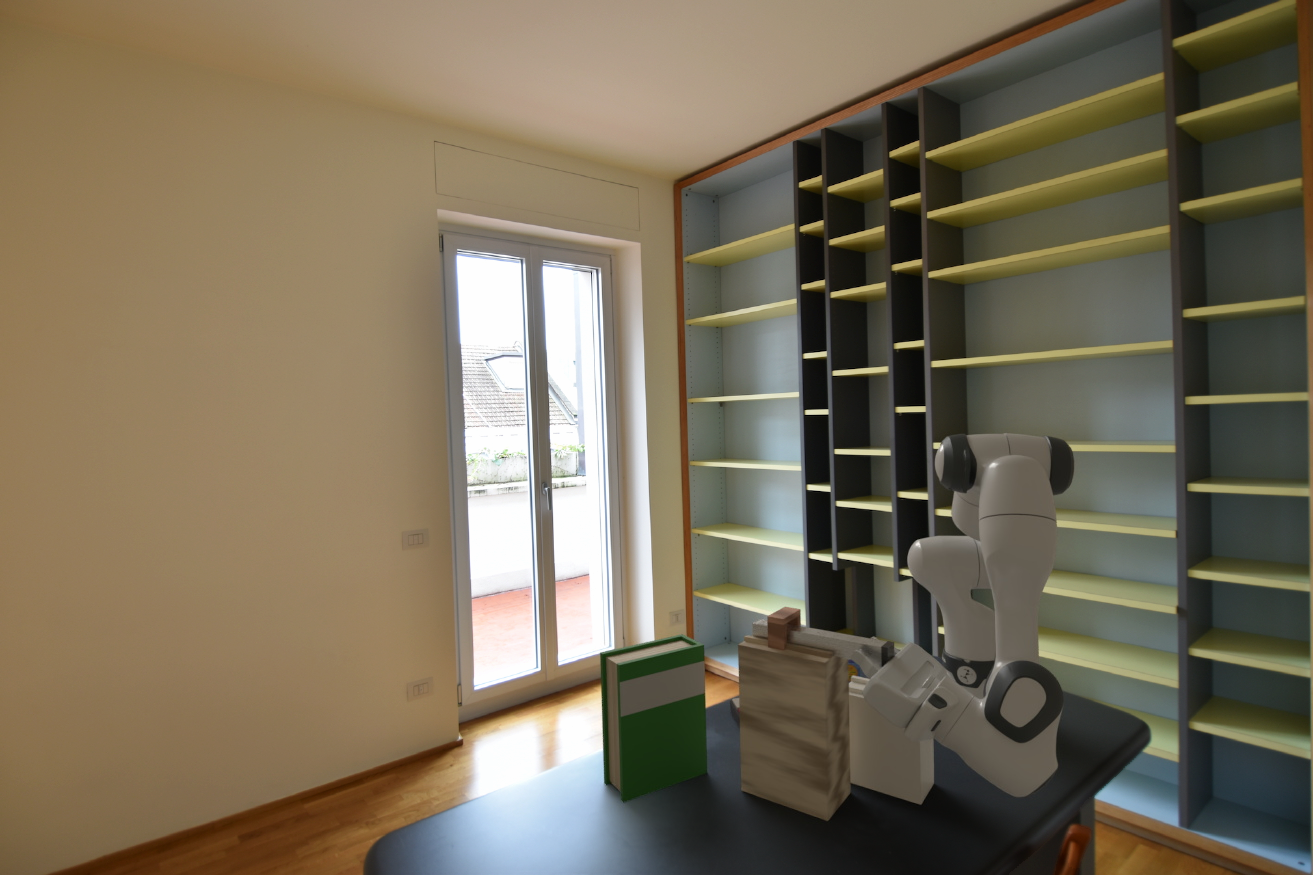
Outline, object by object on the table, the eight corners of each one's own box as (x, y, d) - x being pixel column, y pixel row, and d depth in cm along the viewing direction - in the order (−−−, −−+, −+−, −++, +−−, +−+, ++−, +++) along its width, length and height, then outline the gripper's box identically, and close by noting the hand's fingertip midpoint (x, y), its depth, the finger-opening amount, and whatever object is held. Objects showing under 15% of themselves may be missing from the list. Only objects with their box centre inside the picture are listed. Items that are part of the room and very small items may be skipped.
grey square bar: (761, 635, 124) (760, 618, 124) (894, 661, 109) (894, 641, 109) (752, 640, 121) (752, 622, 121) (887, 667, 107) (887, 647, 107)
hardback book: (623, 802, 117) (619, 664, 116) (604, 783, 124) (600, 652, 123) (707, 772, 126) (704, 644, 125) (685, 755, 133) (682, 634, 132)
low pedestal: (856, 760, 129) (855, 673, 128) (934, 783, 121) (932, 689, 120) (840, 779, 123) (838, 687, 122) (921, 804, 114) (919, 706, 114)
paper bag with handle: (767, 765, 128) (764, 600, 127) (850, 792, 118) (847, 613, 117) (741, 790, 120) (737, 614, 119) (827, 820, 110) (824, 629, 109)
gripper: (966, 668, 111) (891, 615, 118) (931, 714, 95) (847, 649, 102) (946, 697, 113) (874, 643, 120) (909, 747, 97) (828, 681, 104)
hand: (861, 646), depth 111 cm, fingers open, 5 cm apart
